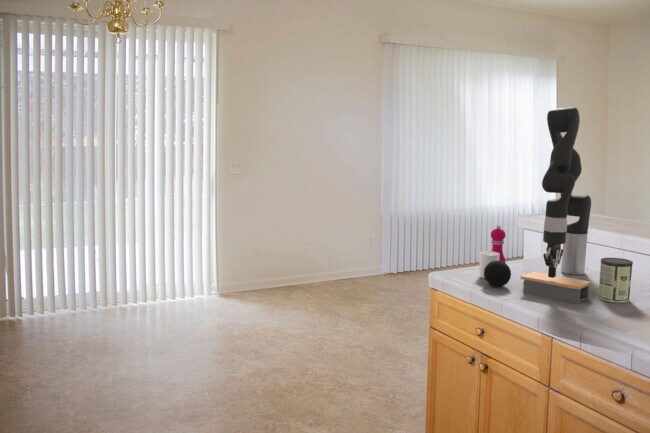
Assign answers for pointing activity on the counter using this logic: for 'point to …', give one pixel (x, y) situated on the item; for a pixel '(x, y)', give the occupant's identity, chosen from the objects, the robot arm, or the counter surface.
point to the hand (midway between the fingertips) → (551, 277)
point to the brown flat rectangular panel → (556, 280)
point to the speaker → (497, 273)
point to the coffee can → (615, 280)
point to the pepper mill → (498, 241)
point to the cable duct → (554, 291)
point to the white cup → (487, 260)
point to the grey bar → (582, 293)
